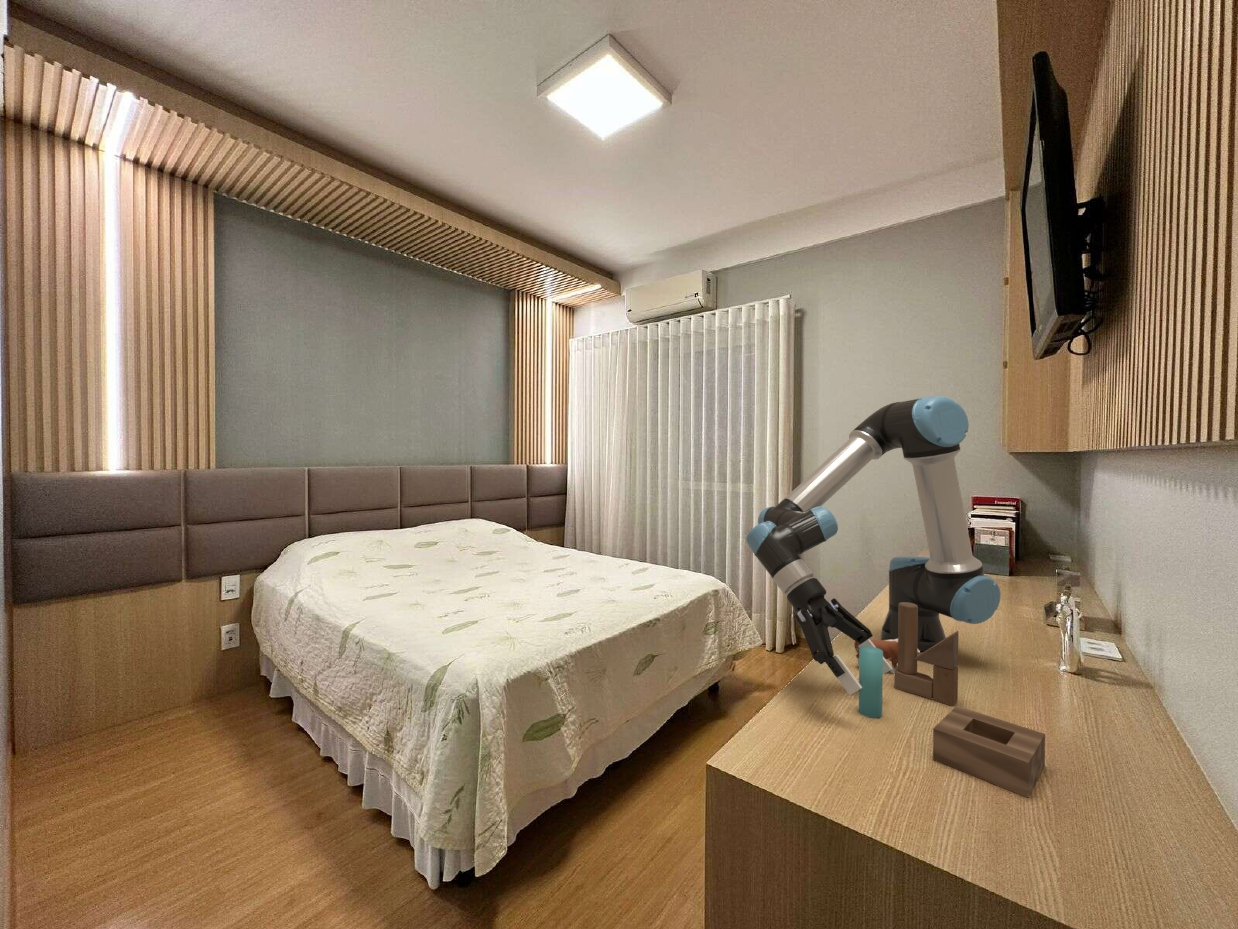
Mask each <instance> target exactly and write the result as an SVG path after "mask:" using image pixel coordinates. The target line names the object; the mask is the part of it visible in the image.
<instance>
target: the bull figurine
mask: <svg viewBox="0 0 1238 929" xmlns="http://www.w3.org/2000/svg"><path fill="white" fill-rule="evenodd" d="M869 639H870V640H871V642H872V643H873V644H874V645H875V647H876V648H879V649H881V650H882V651H883V657H884V658H885V659H886V660H887V661H889V662H891V667H892V668H893V669H891V670H890V673H892V675H894V674H895V671H896V670H897V669H898V639H894V640H892V639H891V640H883V639H874V638H873V639H871V638H869ZM859 645H860V644H859V643H858V642H856V641H855V640H854V646H853V647H854V649H855V651H856V655H855V657H856V659H857V665H858V666H859V649H860V648H859V647H858V646H859ZM920 654H921V652H920V651H919V649H918V648H917V656H918V655H920Z"/></svg>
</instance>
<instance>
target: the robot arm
mask: <svg viewBox="0 0 1238 929" xmlns="http://www.w3.org/2000/svg"><path fill="white" fill-rule="evenodd" d="M968 431H969V419H968V416H967V413H966V411H965V410H964V408H963V407H962V406H961V404H959V403H958V402H957V401H954V399H953V398H950V397H947V396H942V395H941V396H938V395H937V396H924V397H922V398H921V397H920V398H915V399H910V400H904V401H903V400H902V401H897V402H896V401H895V402H892V403H889V404H886V405H883V407H880V408H879V409H878V410H876V411H875V412H873V413H872V414H870V415H869V416H868V417H867V418H865V419H864V420H863V421H861V422H860V423H859V424H858V425H856V427H855V428H854V429H853V430H852V431H850V433H849V434H848V440H847V441H846V442H845V443H843V444H842V446H839V448H838V449H837V450H835V452H834V453H833V454H832V455H830V456H829V457H828V458H827V459H826V460H825V461H824V462H822V464H820V465H819V466H818V467H817V468H816V469H815V470H814V471H813V472H812V473H811V474H810V475H808V476H807V477H806V478H805V479H804V480H803V481H802V482H800V483H799V485H798V486H797V487H796V488H794V489H793V490H792V491H791V492H790V493H789V494H788V495H787V496H785V497H784V498H783V499H782V500H781V501H780V502H779V503H778V504H776V505H775V506H768V507H765V508H764V509H762V510H761V512H760V513H759V515H758V520H757V524H756V525H755V526H754V527H753V528H751V530H749V532H748V533H747V534H746V538H745V540H746V543H747V545H748V547H749V548H750V550H751V551H752V553H753V555H754V556H755V558H757V560H758V561H759V562H760V564H761V565H762V566H763V568H764V569H765V571H766V572H767V573H768V574H769V575H770V577H771V578H772V579H773V581H774V583H775V584H776V585H777V587H778V589H780V591H781V593H782V594H784V595H786V599H787V600H788V602H789V604H790V605H791V606H792V607H793V609H794V610H795V611H796V612H797V613H796V614H794V617H795V620H797V622H798V624H799V625H800V628H801V629H802V630H801V631H802V632H803V634H804V638H805V640H806V643H807V646H808V648H809V651H810V652H811V653H810V654H811V656H812V658H813V660H814V661H815V662H817V663H818V664H820V665H823V664H824V663H825V664H826V665H827V667H828V668H829V669H830V671H831V672H832V674H833V675H834V676H835V677H836V678H837V680H838V682H839V683H840V684H841V686H842V687H843V689H844V690H845V691H846V693H847V694H848V695H849V696H851V695H853V694H855V693H856V692H859V689H861V688H862V686H861V685H860V684H859V680H858V679H857V678H856V677H855V675H854V674H853V673H852V672H851V670H850V668H848V666H847V665H846V664H845V662H844V660H843V659H842V658H841V657H840V655H839V654H834V653H835V652H834V649H833V645H832V640H831V637H830V633H829V628H831V629H832V628H835V629H837V630H838V631H839V632H841V633H842V634H844V635H846V636H848V637H849V639H852V640H853V641H854V642H855V641H856V642H858V643H859V644H860V645H859V646H858V647H859V648H860V647H861V646H871V647H875V645H874V644H873V643H872V642H871V640H870V639H871V638H872V637H873V636H874V635H873V633H872V631H871V630H870V628H868V627H867V626H866V625H864V624H863V622H861V621H860V620H859V619H858V618H856V617H855V616H854V615H853V614H852V613H850V612H849V611H848V610H847V609H846V608H845V607H843V606H842V605H841V603H840V602H839V601H838V600H837V599H836V598H834V597H832V599H830V600H829V601H828V600H827V599H826V598H825V596H826V594H827V590H826V588H825V587H824V586H823V585H822V583H821V582H820V580H818V578H816V577H814V573H813V572H812V570H811V569H810V568H809V567H808V566H807V564H806V563H805V562H804V560H803V558H801V556H800V555H802V554H804V553H805V552H808V551H809V550H811V549H812V548H815V547H817V546H818V545H819V546H820V544H822V543H824V542H827V541H828V540H829V539H830V538H832V537H834V536H835V535H836V534H837V533H838V530H839V526H838V521H837V520H836V517H835V516H834V514H833V513H832V512H831V510H829V509H828V508H827V507H825V506H823V505H824V504H825V503H826V502H828V501H829V500H830V499H831V498H832V497H833V496H834V495H835V494H836V493H837V492H838V491H839V490H840V489H842V488H843V487H844V486H845V485H846V484H847V483H848V482H849V481H850V480H852V478H854V477H855V475H857V474H858V473H859V472H860V471H861V470H862V469H863V468H864V467H865V466H866V465H868V464H869V463H870V462H871V461H872V460H873V461H874V460H879V459H880V458H881V457H883V455H885V454H886V453H887V452H891V451H892V450H895V449H896V450H897V449H901V451H902V456H903V459H904V460H906V461H907V462H909V463H910V464H911V465H912V469H913V475H914V480H915V485H916V486H915V487H916V489H917V490H916V491H917V496H918V501H919V505H920V510H921V517H922V520H923V521H922V522H923V526H924V531H925V536H926V541H927V546H928V552H929V556H895V557H892V558H891V559H890V561H889V569H888V612H887V614H886V617H885V620H884V622H883V625H882V627H881V630H880V632H881V634H880V636H881V637H882V638H883V639H882V638H881V637H880V638H881V639H882V640H891V639H892V640H894V639H898V604H899V603H901V602H908V603H913V604H916V605H917V606H918V646H917V648H918V649H919V651H924V652H925V651H926V650H928V649H929V648H931V647H933V646H934V645H936V644H937V643H939V642H940V641H942V640H944V639H945V638H947V636H946V634H945V631H944V628H943V625H942V622H941V618H940V615H942V616H945V617H948V618H951V619H953V620H954V621H957V622H964V623H967V624H971V625H976V624H977V625H978V624H982V623H984V622H986V621H988V620H989V619H991V617H992V616H994V615H995V612H996V611H997V610H998V608H999V605H1000V603H1001V595H1002V594H1001V589H1000V587H999V584H998V583H997V581H995V580H994V579H993V578H991V577H990V576H987V575H985V573H984V568H983V563H982V561H981V560H980V559H978V558H976V557H975V556H974V555H973V551H972V545H971V540H970V534H969V529H968V524H967V518H966V514H965V509H964V502H963V499H962V493H961V492H962V491H961V488H960V482H959V478H958V477H959V476H958V473H957V467H956V461H955V457H956V456H957V455H958V454H959V453H960V452H961V447H960V443H962V442H963V441H964V439H965V438H966V437H967V434H966V433H968ZM891 669H893V668H892V665H891V664H890V663H889V662H888V660H886V659H885V658H884V657H883V675H885V674H886V673H888V672H889V671H891Z"/></svg>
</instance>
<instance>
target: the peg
mask: <svg viewBox="0 0 1238 929" xmlns="http://www.w3.org/2000/svg"><path fill="white" fill-rule="evenodd" d="M858 667H859V668H858V682H859V684H860V685H861V686H862V688H861V689H859V690H858V712H859V714H861V715H862V716H864V717H867V718H872V719H880V718H881V717H883V683H884V682H883V680H884V679H883V676H884V674H883V651H882V650H881V649H879V648H876V647H871V646H861V647H860V649H859V665H858Z"/></svg>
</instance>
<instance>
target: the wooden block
mask: <svg viewBox="0 0 1238 929" xmlns="http://www.w3.org/2000/svg"><path fill="white" fill-rule="evenodd" d="M917 646H918V606H917V605H916V604H913V603H908V602H901V603H899V604H898V663H897V666H898V669H897V670H895V675H893V676H894V685H893V686H894V687H893V688H895V689H898V690H901V691H904V692H907V693H910V694H913V695H917V696H920V697H923V698H927V699H929V700H933V701H935V702H939V703H942V704H944V705H948V706H951V707H953V706H954V705H955V704H956V703H957V701H959V700H958V698H959V697H958V695H959V691H958V687H959V667H958V666H959V630H956V631H955V632H954V633H952V634H950V635H948V636H946V638H945V639H944V640H942V641H940V642H939V643H937V644H936V645H934V646H933V647H931V648H929V649H928V650H926V651H925V652H920V654H918V655H917ZM918 662H922V663H926V664H928V665H933V666H932V667H933V668H932V671H933V672H932V677H931V676H930V675H928V674H926V673H922V672H919V671H918Z"/></svg>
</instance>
